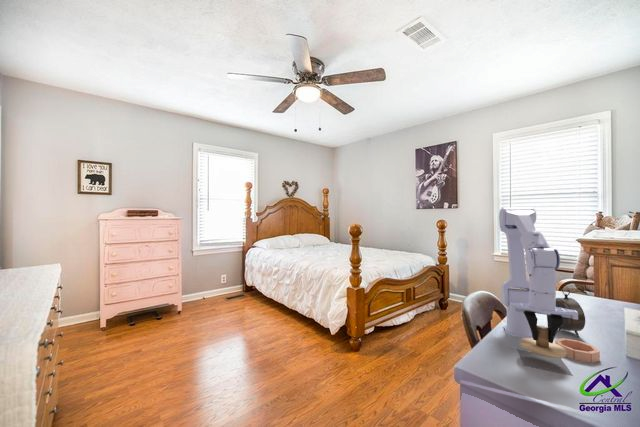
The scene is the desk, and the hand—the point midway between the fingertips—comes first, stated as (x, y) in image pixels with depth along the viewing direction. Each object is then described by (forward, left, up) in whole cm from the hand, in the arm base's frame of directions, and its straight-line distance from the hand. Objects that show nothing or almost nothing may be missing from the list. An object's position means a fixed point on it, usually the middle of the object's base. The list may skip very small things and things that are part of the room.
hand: (542, 340), depth 75 cm
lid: (0, 0, -2) cm, 2 cm away
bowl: (-10, +10, -6) cm, 15 cm away
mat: (0, 0, -6) cm, 6 cm away
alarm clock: (-30, +13, -7) cm, 33 cm away
